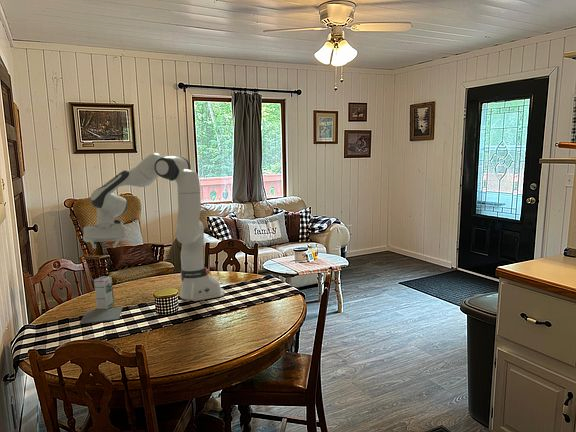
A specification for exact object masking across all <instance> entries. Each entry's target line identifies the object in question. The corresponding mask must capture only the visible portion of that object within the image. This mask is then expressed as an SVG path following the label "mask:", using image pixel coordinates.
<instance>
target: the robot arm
mask: <svg viewBox="0 0 576 432" xmlns="http://www.w3.org/2000/svg"><path fill="white" fill-rule="evenodd" d="M159 177H160V178H163V179H165V180H168V181H171V182H173V181H175V183H176V185H177V219H176V229H175V230H176V231H175V238H176V240H177V242H179V243H181V249H180V263H181V269H180V279H181V290H180V295H179V298H180V299H183V300H188V301H193V302H197V301H198V302H199V301H203V300H208V299H214V298H219V297H223V296H225V294H226V291H225V289H224V288H223V287H221V284H220V283H219V280H217V279H216V278H215V277H213V276H212V275H210V269H208V268H207V267H205V265H204V263H205V262H204V244H205V242H204V239H205V236H204V234H205V226H204V223H203V222H202V221H201V220H200V218H201V217H200V216H201V210H202V201H201V197H202V195H201V184H200V183H201V182H200V177H199V174H198V172H196V170H195V171H194V170H192V169H191V163H190V161H189V160H188V159H186V158H185V157H182V156H175V155H168V156H162V155H161V154H159V153H157V152H153V153H152V152H151V153H150V154H148V155H147V156H146V157H145V158H143V159H142V160H141V161H140V162H139V163H138V164H137V165H136V166H135V167H132V168H130V169H126V170H122V171H121V172H119V173H118V174H117V175H115V176H114V177H113V178H111V179H110V180H108V181H107V182H105V184H103V185H102V186H101V187H98V188H96V189H95V190H94V191H93V192H92V193H91V195H90V203H91V205H92V207H94V208H96V209H97V210H96V220H95V221H96V223H95V224H94V225H93V224H92V225H85V226H84V227H83V228H82V233H83V234H82V235H83V236H82V240H83V242H85V243H90V244H91V246H92V247H91V248H92V249H94V250H95V249H97V244H96V243H98V242H112V248H113V249H115V248H117V245H118V244H119V242H120V241H121V242H124V241H126V240H127V233H126V228H125V226H124V221H123V220H119V219H115V218H119V217H120V216H123V215H124V214H126V213H127V210H128V208H129V207H128V200H127V199H126V198H125V197H122V196H120V195H119V194H116V193H113V192H115V191H116V190H117V189H119V188H120V187H123V186H124V187H125V186H131V187H137V188H138V187H139V188H145V187H148V186H151V185H152V184H153V183H154V182H155V181H156V179H157V178H159ZM113 242H114V243H113Z"/></svg>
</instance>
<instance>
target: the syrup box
mask: <svg viewBox="0 0 576 432" xmlns="http://www.w3.org/2000/svg"><path fill="white" fill-rule="evenodd" d="M112 278H113V277H112V276H109V275H106V276H105V275H104V276H100V277H98V278H95V279H93V285H94V294H95V303H96V310H101V309H109V308H113V306H115V298H114V297H115V296H114V290H113V289H114V288H113V287H114V286H113V279H112Z"/></svg>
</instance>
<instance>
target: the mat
mask: <svg viewBox="0 0 576 432" xmlns="http://www.w3.org/2000/svg"><path fill="white" fill-rule="evenodd" d="M122 311H123V306H118V307H110V308H108V309H94V310H92V309H91V310H86V311H85V313H84V314H83V316H82V318H81V320H80V322H79V325H83V324H93V323H100V322H107V321H108V322H110V321H117V320H120V318H121V315H122V314H121V313H122Z"/></svg>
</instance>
